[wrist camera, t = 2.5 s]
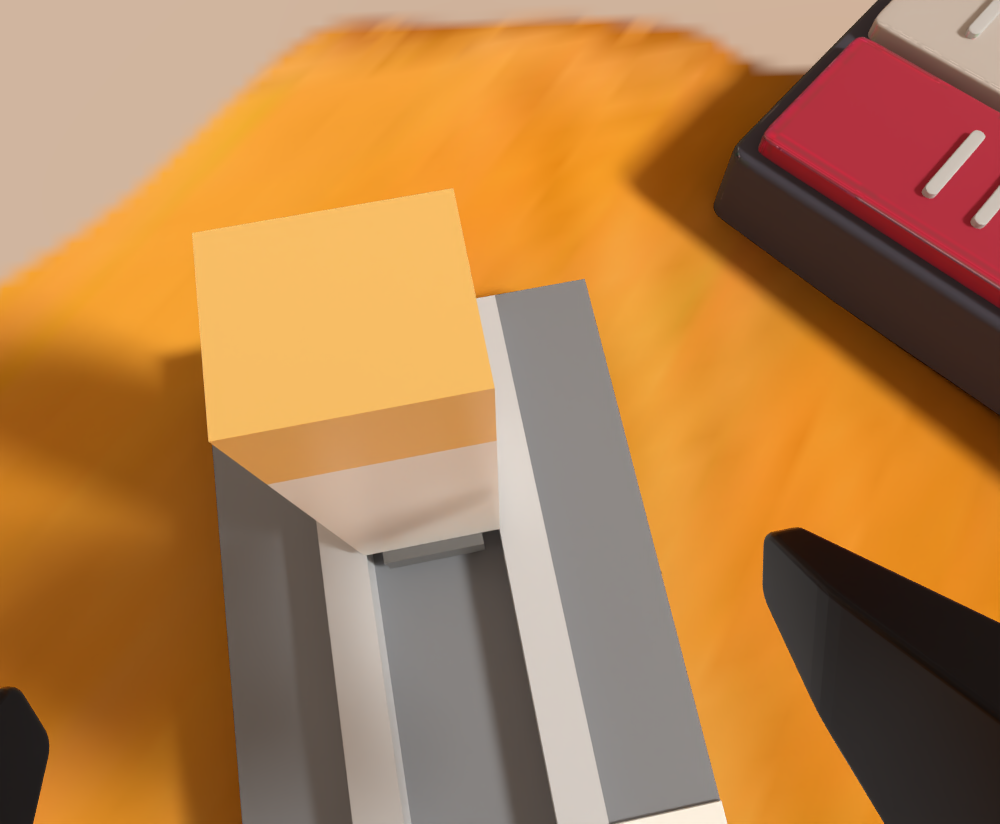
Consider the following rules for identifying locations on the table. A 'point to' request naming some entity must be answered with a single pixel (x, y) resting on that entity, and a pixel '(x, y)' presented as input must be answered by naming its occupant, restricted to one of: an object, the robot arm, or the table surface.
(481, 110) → the table surface
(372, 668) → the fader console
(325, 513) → the fader tab
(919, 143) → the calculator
